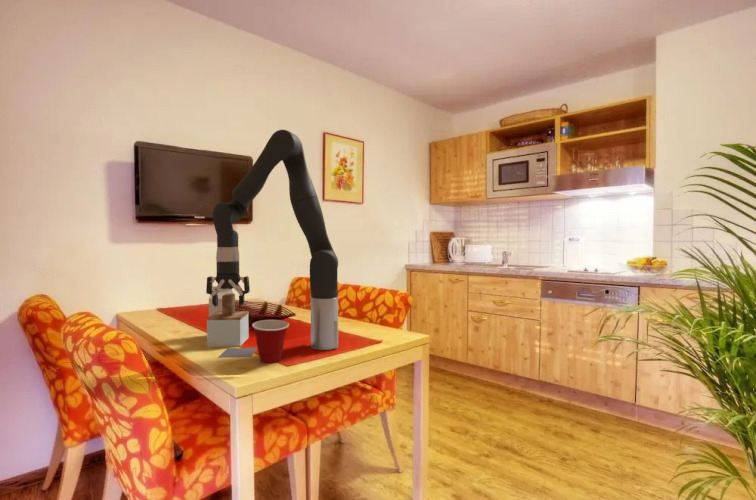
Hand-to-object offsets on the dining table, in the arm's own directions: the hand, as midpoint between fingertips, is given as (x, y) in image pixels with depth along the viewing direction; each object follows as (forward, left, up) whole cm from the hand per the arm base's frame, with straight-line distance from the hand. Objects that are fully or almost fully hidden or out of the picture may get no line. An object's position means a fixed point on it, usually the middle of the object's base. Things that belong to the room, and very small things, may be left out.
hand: (228, 305), depth 139 cm
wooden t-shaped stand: (0, 0, -4) cm, 4 cm away
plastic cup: (-19, +22, -14) cm, 32 cm away
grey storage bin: (0, 0, -13) cm, 13 cm away
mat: (-7, +13, -13) cm, 20 cm away
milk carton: (+5, -10, -14) cm, 18 cm away
